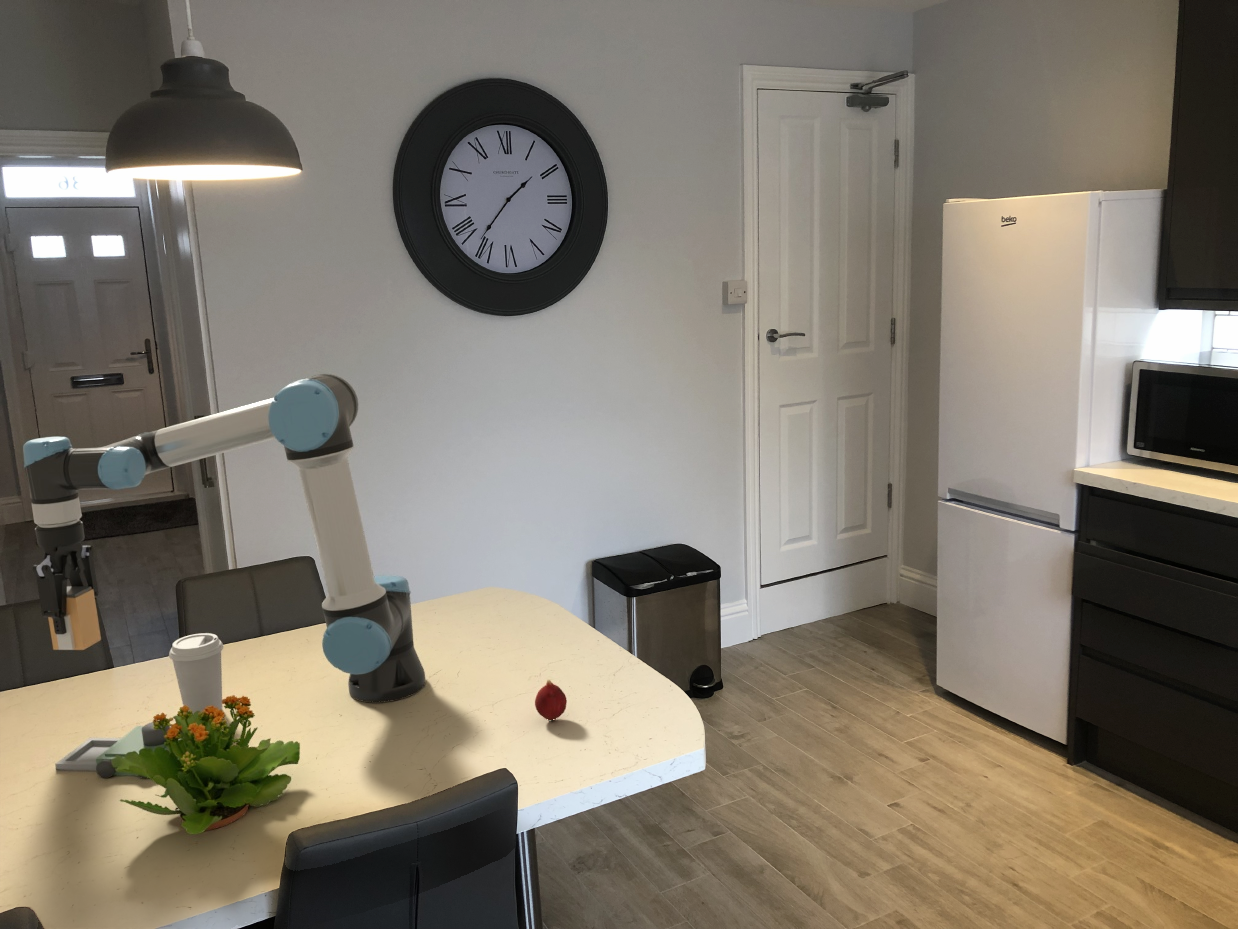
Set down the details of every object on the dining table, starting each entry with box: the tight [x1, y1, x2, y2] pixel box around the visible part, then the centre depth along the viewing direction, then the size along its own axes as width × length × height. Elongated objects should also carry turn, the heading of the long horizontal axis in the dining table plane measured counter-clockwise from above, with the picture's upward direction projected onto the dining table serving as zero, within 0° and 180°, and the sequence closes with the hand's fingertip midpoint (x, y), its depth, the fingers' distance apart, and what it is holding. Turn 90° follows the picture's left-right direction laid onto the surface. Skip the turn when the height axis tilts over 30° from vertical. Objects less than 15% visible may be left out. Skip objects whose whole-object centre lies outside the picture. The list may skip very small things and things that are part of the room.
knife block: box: [47, 585, 102, 651], centre depth 176 cm, size 6×5×11 cm
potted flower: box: [111, 694, 301, 835], centre depth 146 cm, size 25×24×18 cm
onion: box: [534, 679, 568, 721], centre depth 175 cm, size 6×6×8 cm
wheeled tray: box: [55, 721, 182, 780], centre depth 167 cm, size 20×14×6 cm
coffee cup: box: [168, 632, 224, 714], centre depth 182 cm, size 10×10×15 cm
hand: (77, 642), depth 177 cm, fingers closed on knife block, 5 cm apart
